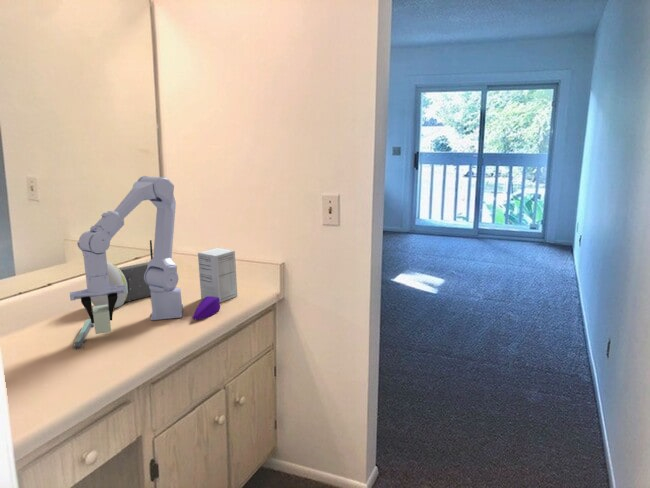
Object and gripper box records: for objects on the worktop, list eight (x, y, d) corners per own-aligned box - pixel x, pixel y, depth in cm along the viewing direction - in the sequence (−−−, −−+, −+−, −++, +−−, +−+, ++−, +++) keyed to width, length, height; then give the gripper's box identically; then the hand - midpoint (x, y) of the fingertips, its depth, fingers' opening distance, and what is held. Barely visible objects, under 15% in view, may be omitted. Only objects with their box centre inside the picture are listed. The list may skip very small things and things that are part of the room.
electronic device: (156, 291, 190) (152, 238, 186) (166, 294, 185) (162, 240, 181) (110, 302, 177) (105, 245, 173) (120, 305, 172) (115, 247, 168)
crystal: (185, 310, 156) (210, 291, 169) (187, 325, 157) (212, 305, 171) (199, 312, 154) (223, 293, 168) (201, 326, 156) (225, 306, 169)
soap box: (111, 331, 143) (109, 311, 141) (95, 334, 141) (93, 313, 140) (109, 324, 149) (107, 304, 148) (94, 326, 147) (92, 306, 146)
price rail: (94, 325, 155) (93, 318, 155) (82, 348, 138) (81, 340, 137) (85, 326, 154) (84, 319, 154) (73, 349, 137) (72, 341, 137)
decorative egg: (136, 303, 176) (133, 260, 173) (107, 313, 165) (103, 268, 162) (111, 298, 181) (107, 257, 178) (81, 308, 171) (77, 264, 168)
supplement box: (220, 292, 187) (217, 247, 184) (238, 296, 182) (236, 250, 178) (200, 299, 179) (196, 252, 176) (218, 303, 174) (215, 255, 171)
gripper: (123, 268, 148) (127, 312, 151) (67, 274, 142) (73, 320, 145) (125, 273, 142) (130, 319, 145) (67, 280, 136) (73, 328, 139)
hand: (101, 320), depth 145 cm, fingers closed on soap box, 4 cm apart
